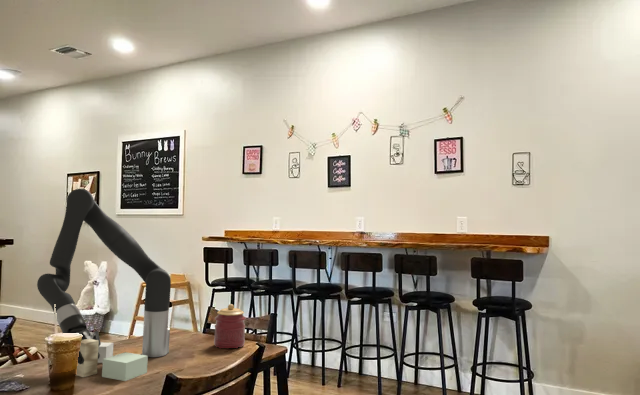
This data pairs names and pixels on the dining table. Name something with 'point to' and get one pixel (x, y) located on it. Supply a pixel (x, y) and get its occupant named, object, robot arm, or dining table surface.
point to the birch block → (88, 358)
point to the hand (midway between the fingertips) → (89, 360)
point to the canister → (229, 328)
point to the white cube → (105, 351)
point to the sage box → (124, 366)
